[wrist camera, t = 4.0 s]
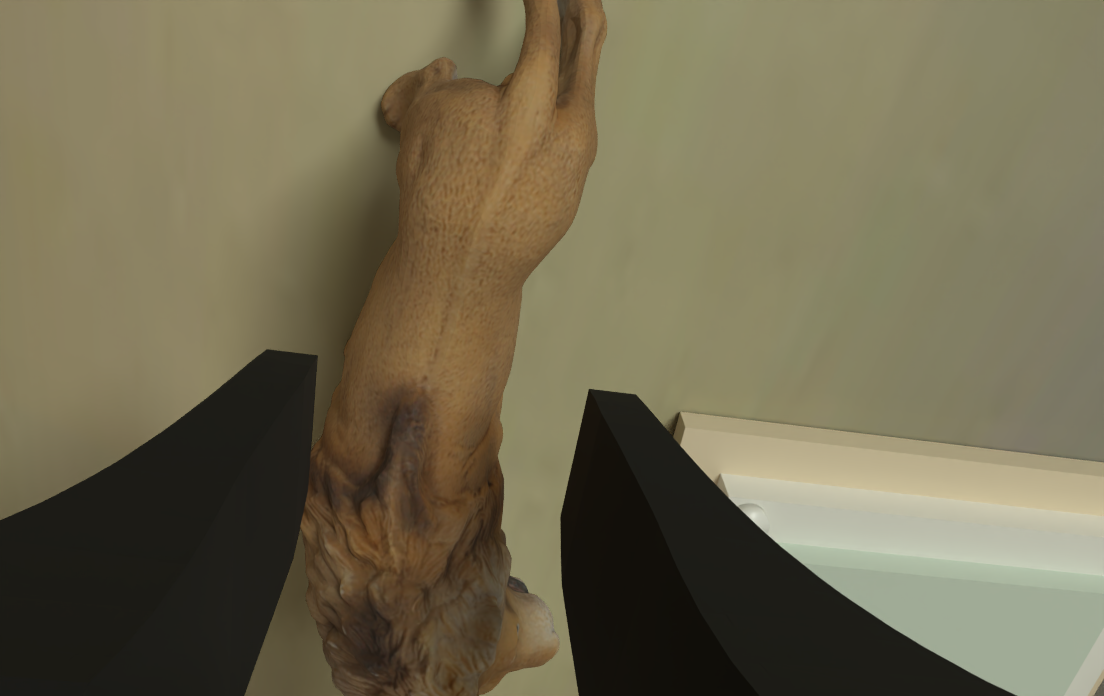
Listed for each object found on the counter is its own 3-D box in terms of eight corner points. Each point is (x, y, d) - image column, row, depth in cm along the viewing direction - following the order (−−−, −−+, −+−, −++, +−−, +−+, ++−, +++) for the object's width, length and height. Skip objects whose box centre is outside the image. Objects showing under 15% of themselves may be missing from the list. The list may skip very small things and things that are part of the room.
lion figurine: (537, 496, 21) (559, 793, 14) (333, 482, 20) (263, 783, 14) (625, -113, 15) (724, -69, 9) (348, -150, 15) (242, -133, 8)
